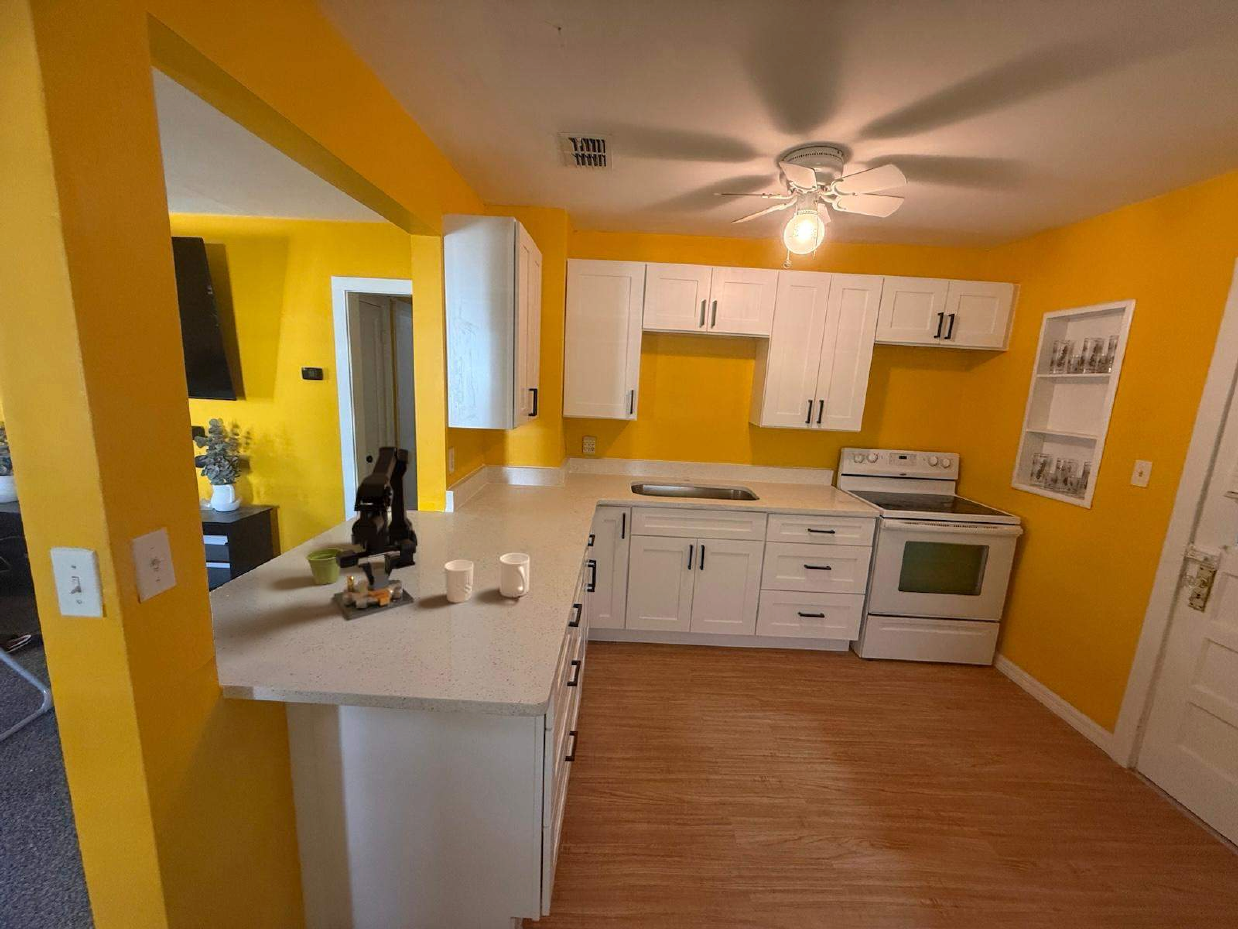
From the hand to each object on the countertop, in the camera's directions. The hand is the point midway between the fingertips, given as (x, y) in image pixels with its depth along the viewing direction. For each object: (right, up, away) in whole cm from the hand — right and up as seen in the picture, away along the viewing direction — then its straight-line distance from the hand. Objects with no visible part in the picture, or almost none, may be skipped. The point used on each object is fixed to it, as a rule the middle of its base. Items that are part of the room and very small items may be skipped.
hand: (378, 582), depth 125 cm
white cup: (+19, -7, +8) cm, 22 cm away
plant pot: (-23, -3, +14) cm, 27 cm away
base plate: (-3, -6, +4) cm, 8 cm away
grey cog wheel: (-3, -4, +3) cm, 6 cm away
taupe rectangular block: (0, -1, 0) cm, 1 cm away
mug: (+35, -7, +12) cm, 38 cm away
